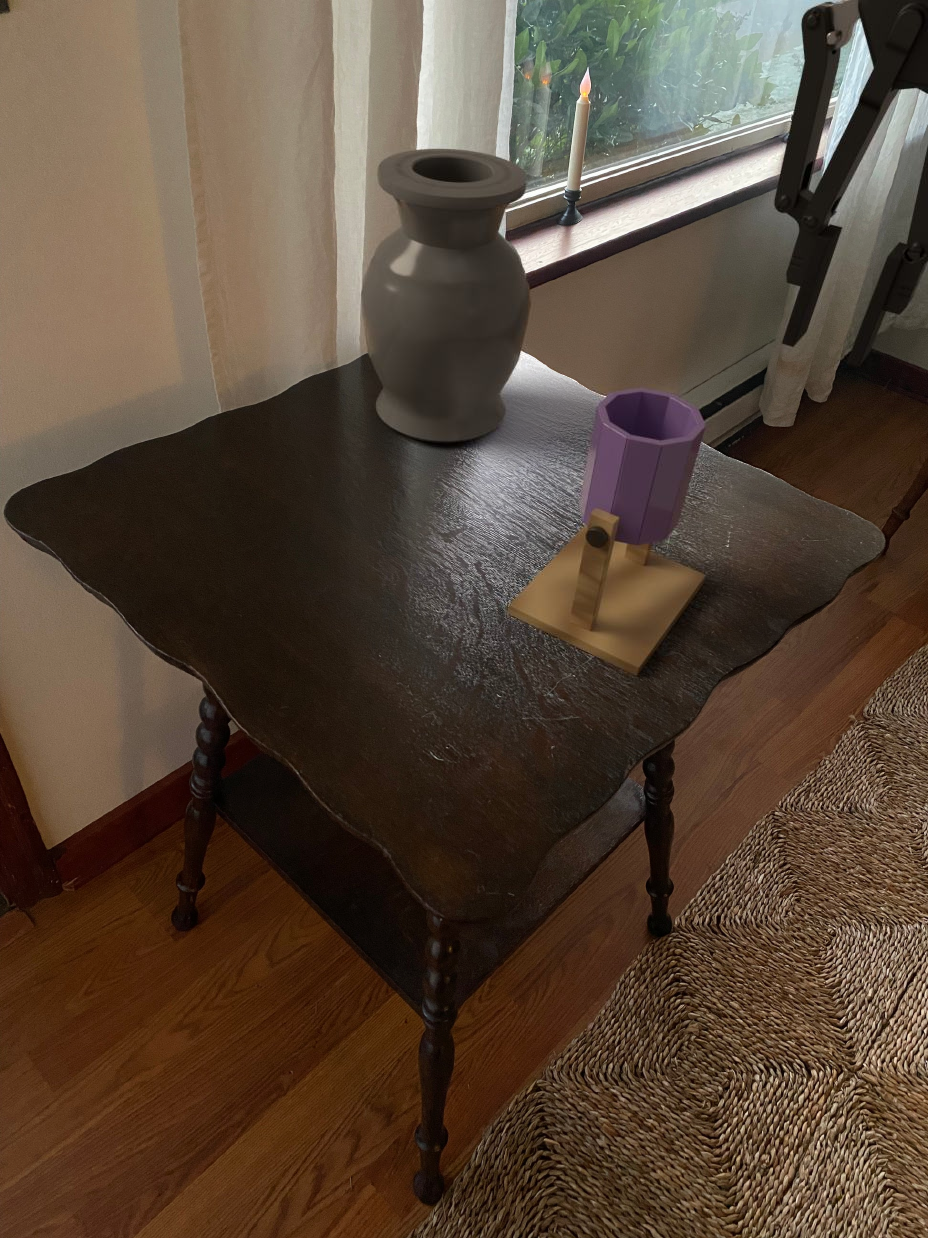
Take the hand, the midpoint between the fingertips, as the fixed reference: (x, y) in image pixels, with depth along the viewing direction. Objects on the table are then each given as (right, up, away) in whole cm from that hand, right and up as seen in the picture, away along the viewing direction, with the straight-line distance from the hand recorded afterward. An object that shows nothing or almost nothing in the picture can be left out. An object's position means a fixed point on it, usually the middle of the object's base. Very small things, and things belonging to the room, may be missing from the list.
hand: (826, 346), depth 56 cm
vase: (-25, +5, +42) cm, 50 cm away
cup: (-9, -9, +16) cm, 20 cm away
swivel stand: (-10, -15, +22) cm, 28 cm away
